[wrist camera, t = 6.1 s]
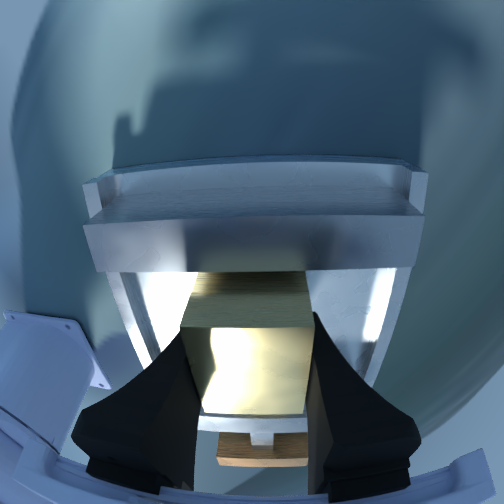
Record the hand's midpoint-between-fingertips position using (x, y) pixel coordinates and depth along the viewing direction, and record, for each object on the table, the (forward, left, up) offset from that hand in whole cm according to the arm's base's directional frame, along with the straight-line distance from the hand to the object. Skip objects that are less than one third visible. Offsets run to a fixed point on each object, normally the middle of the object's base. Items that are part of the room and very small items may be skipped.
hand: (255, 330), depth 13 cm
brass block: (0, +1, -2) cm, 2 cm away
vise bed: (0, 0, -4) cm, 4 cm away
